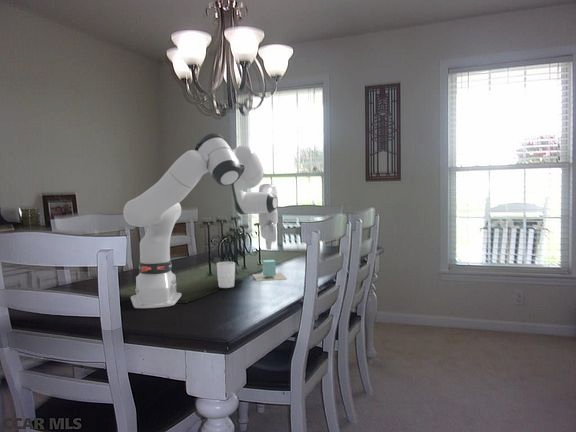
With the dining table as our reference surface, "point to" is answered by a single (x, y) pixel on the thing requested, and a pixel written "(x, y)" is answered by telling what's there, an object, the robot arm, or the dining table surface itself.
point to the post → (268, 277)
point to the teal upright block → (269, 268)
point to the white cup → (226, 274)
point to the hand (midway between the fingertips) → (268, 249)
